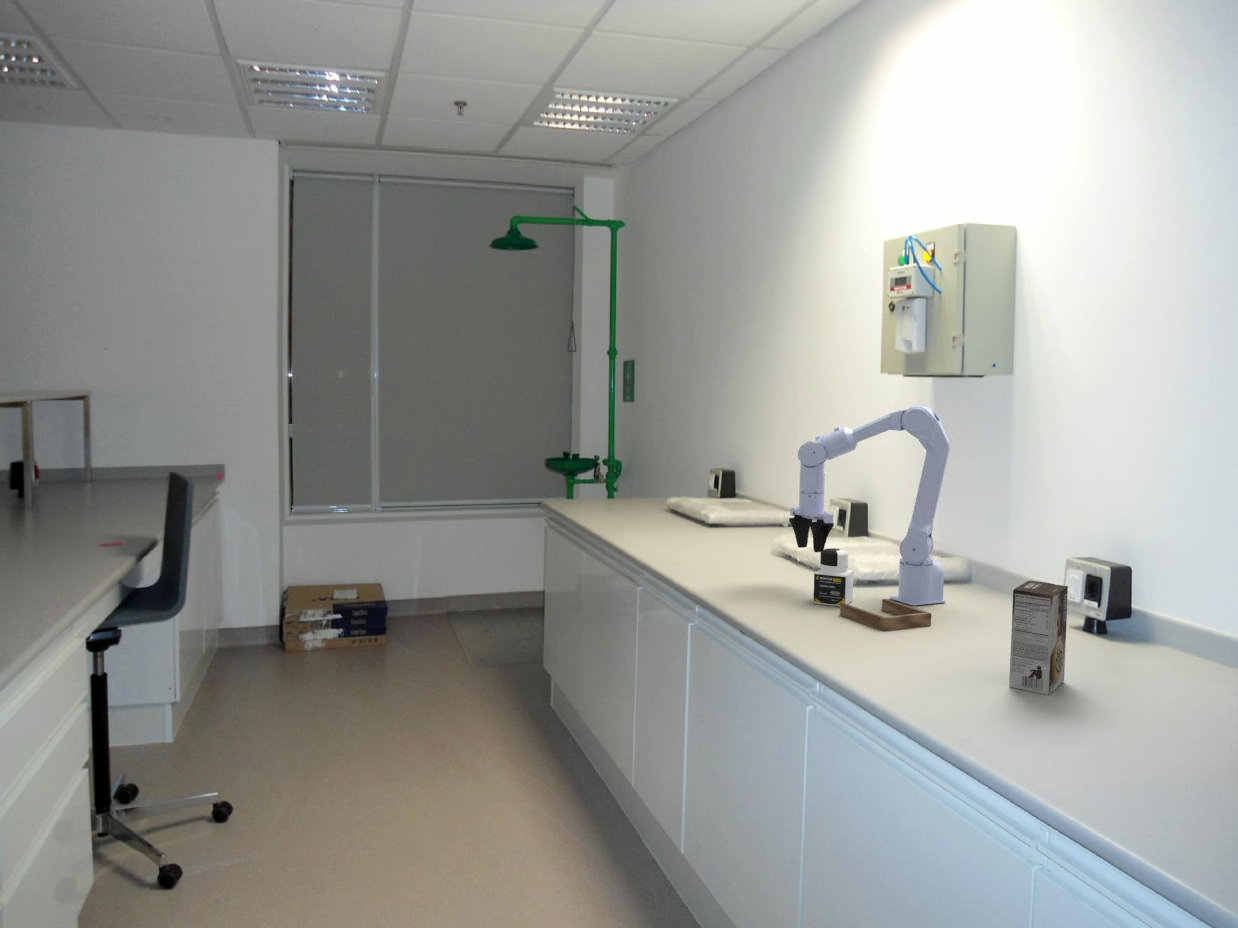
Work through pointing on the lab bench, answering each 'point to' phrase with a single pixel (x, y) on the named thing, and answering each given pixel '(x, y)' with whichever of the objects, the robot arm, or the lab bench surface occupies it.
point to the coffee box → (1038, 637)
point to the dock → (904, 618)
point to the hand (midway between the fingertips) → (810, 549)
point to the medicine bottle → (833, 579)
